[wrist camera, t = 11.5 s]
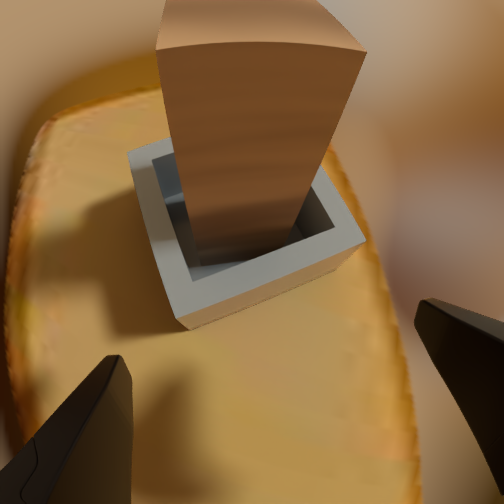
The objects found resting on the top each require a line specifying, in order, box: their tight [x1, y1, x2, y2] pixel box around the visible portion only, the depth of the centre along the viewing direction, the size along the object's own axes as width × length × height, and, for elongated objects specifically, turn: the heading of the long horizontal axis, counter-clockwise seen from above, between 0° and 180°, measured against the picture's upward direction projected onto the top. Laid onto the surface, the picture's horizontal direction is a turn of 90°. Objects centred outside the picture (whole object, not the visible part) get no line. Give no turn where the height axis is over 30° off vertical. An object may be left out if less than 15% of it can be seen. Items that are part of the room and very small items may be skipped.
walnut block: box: [156, 0, 367, 266], centre depth 11 cm, size 4×4×13 cm
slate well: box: [127, 137, 366, 330], centre depth 16 cm, size 9×9×5 cm
